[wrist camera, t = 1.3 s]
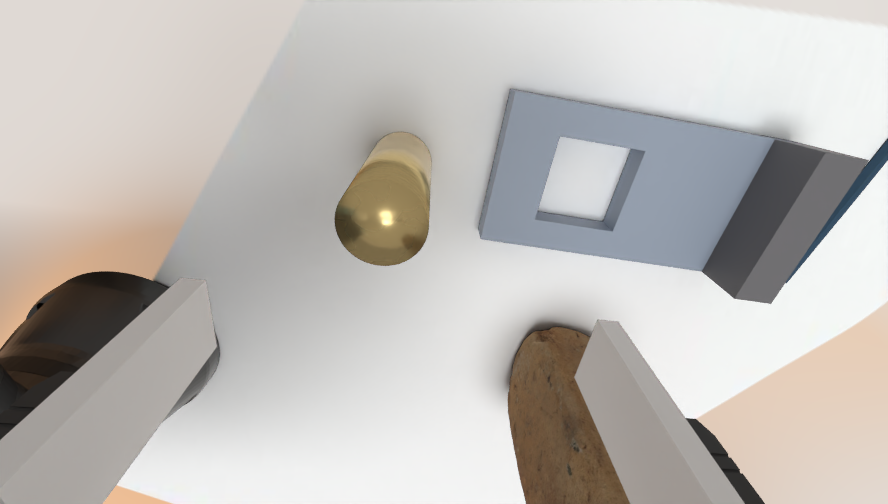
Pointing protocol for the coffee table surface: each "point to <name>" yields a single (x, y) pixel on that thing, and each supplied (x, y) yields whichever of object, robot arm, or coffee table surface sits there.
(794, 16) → the coffee table surface
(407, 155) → the brass cylinder rod
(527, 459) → the block
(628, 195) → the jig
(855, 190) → the pencil
